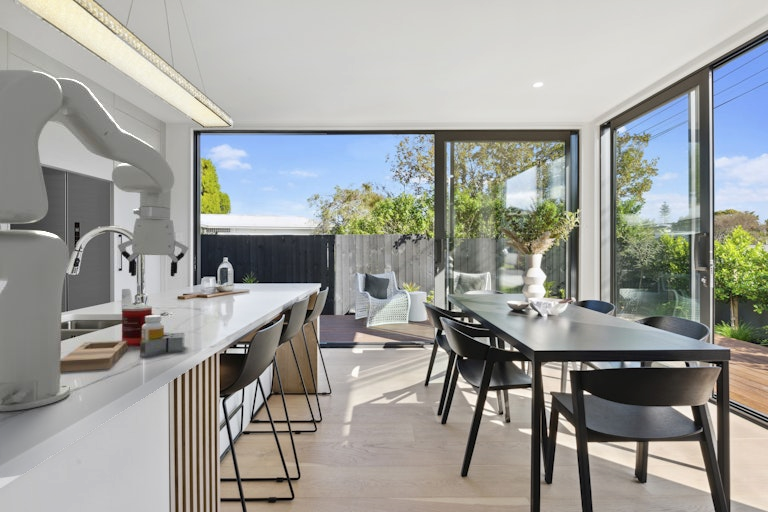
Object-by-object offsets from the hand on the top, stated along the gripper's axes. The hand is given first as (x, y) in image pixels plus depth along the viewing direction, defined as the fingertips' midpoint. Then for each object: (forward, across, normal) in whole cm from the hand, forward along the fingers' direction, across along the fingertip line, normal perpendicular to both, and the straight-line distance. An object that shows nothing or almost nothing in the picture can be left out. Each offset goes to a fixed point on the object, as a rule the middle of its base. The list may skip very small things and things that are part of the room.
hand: (153, 275), depth 117 cm
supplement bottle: (+21, 0, 0) cm, 21 cm away
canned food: (+21, -5, +11) cm, 24 cm away
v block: (+21, +3, +1) cm, 21 cm away
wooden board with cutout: (+21, -12, -6) cm, 25 cm away
